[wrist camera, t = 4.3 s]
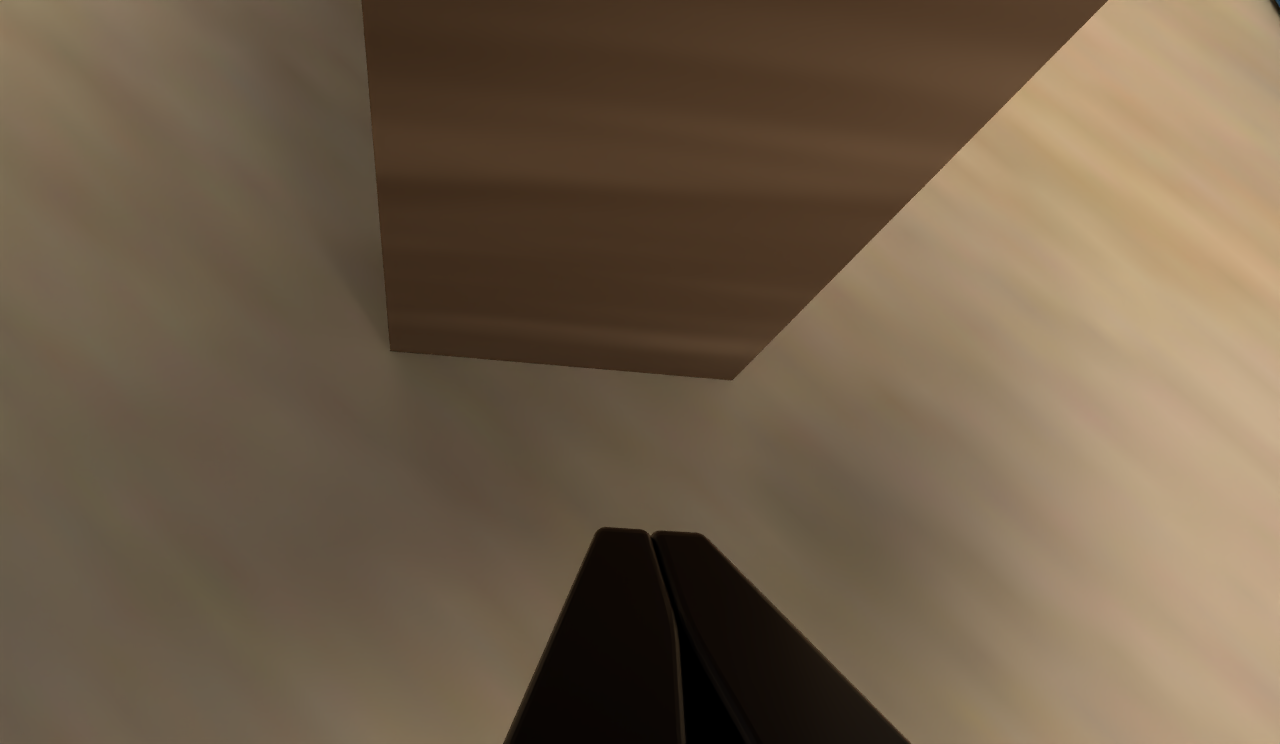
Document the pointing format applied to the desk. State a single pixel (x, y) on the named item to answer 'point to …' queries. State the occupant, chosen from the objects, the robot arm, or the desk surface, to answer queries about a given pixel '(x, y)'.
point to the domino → (663, 161)
